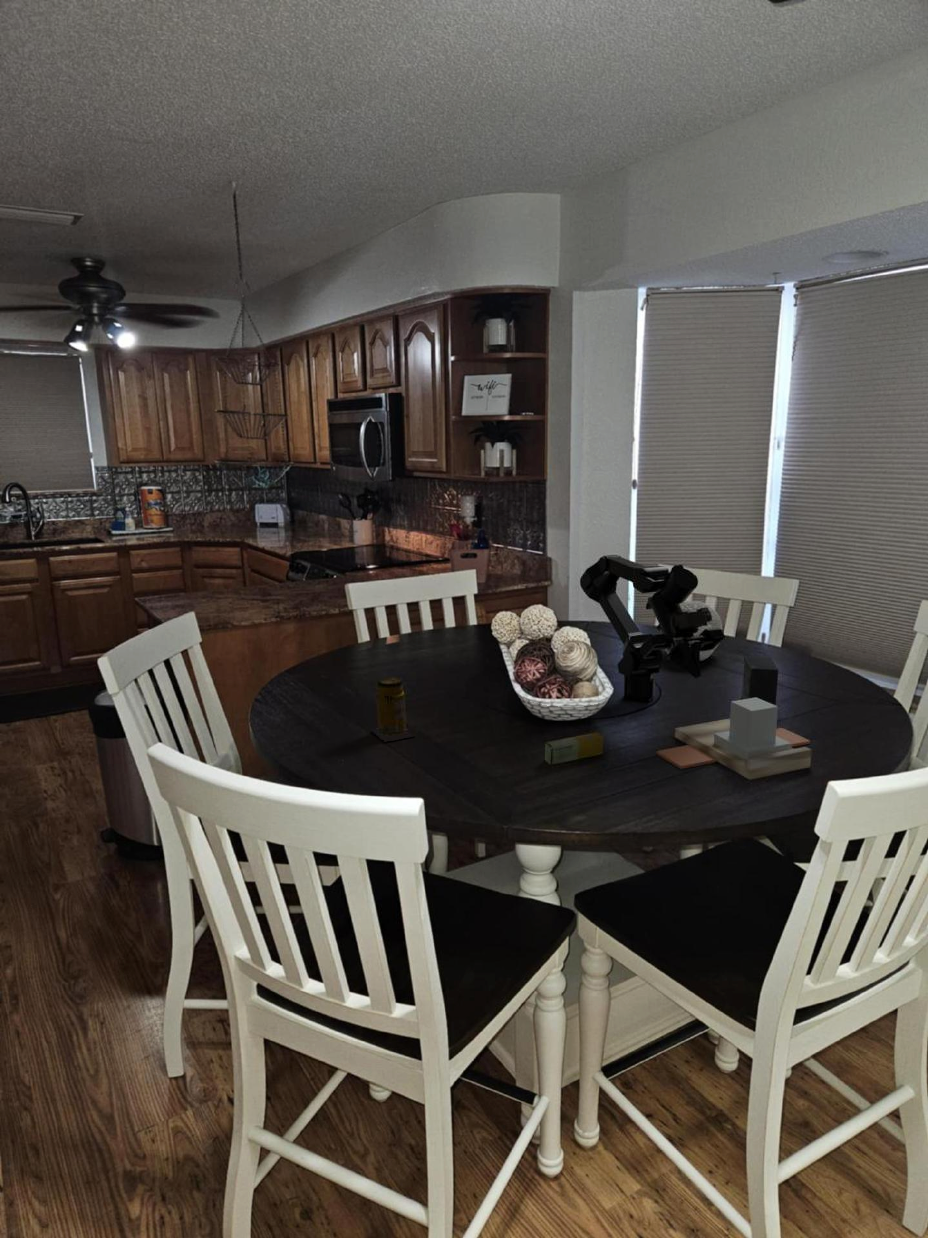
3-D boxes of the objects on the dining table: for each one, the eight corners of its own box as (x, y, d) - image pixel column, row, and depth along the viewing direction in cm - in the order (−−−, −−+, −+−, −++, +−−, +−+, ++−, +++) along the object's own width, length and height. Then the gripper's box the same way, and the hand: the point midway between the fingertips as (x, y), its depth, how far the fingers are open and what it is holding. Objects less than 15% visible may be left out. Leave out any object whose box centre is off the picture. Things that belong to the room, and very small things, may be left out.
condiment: (401, 725, 177) (399, 674, 174) (416, 737, 169) (413, 684, 167) (370, 731, 174) (367, 679, 171) (384, 744, 166) (381, 689, 164)
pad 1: (656, 754, 157) (656, 751, 157) (690, 747, 160) (690, 744, 160) (680, 769, 150) (680, 766, 150) (715, 762, 152) (716, 759, 152)
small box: (777, 714, 177) (780, 669, 175) (746, 712, 179) (749, 668, 176) (769, 698, 188) (772, 656, 185) (740, 697, 189) (742, 655, 186)
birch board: (675, 737, 165) (675, 721, 165) (730, 727, 170) (730, 711, 169) (749, 779, 144) (750, 761, 144) (810, 767, 149) (811, 749, 148)
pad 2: (751, 736, 165) (751, 733, 165) (781, 730, 167) (781, 727, 167) (778, 749, 157) (778, 746, 157) (810, 743, 160) (810, 740, 160)
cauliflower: (657, 617, 235) (685, 580, 223) (710, 644, 235) (741, 608, 223) (646, 661, 221) (675, 624, 209) (702, 690, 220) (734, 655, 209)
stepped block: (713, 743, 157) (715, 699, 155) (755, 735, 160) (757, 693, 158) (747, 761, 147) (750, 716, 145) (790, 753, 151) (793, 708, 149)
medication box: (550, 766, 153) (550, 748, 152) (543, 760, 156) (544, 741, 154) (603, 754, 158) (604, 736, 156) (596, 748, 160) (597, 730, 159)
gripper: (650, 598, 165) (680, 663, 158) (723, 591, 172) (754, 653, 164) (627, 626, 174) (654, 689, 167) (697, 619, 181) (726, 679, 173)
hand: (698, 677), depth 168 cm, fingers closed
